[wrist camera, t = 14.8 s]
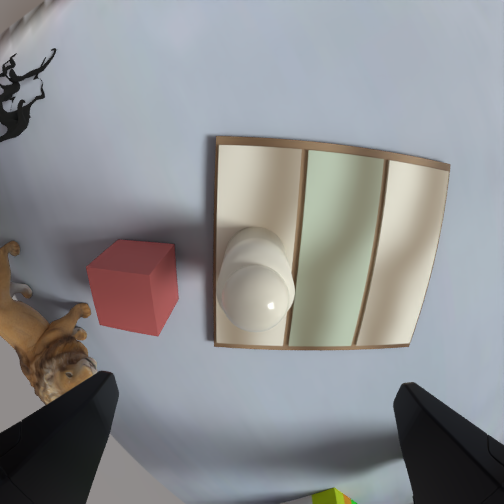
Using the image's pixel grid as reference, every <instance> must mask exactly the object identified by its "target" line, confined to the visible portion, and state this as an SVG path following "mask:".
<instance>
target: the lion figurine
mask: <svg viewBox="0 0 504 504" xmlns="http://www.w3.org/2000/svg"><path fill="white" fill-rule="evenodd" d="M8 253H10V254H11V255H13V256H17V255H19V253H20V247H19V244H18V243H17V242H15V241H11V242H9V243H7V244H5V245H4V246H3V247H2V248H0V336H1V337H2V338H3V339H4V340H6V341H7V342H8V343H9V344H10V345H11V346H12V347H13V348H14V349H15V350H16V352H17V354H18V356H19V359H20V366H21V369H22V372H23V373H24V375H25V376H26V377H27V379H28V380H29V381H30V383H31V386H33V387H34V389H35V394H36V395H37V396H39V398H40V399H41V401H42V402H44V404H45V405H47V404H48V403H50V402H52V401H53V400H55V399H56V398H58V397H60V396H61V395H63V394H64V393H66V392H67V391H69V390H71V389H72V388H74V387H75V386H77V385H78V384H80V383H82V382H83V381H85V380H86V379H88V378H89V377H91V376H93V375H94V374H96V373H97V369H96V367H97V363H96V361H95V360H94V359H93V358H91V357H88V351H87V348H86V347H85V346H84V345H83V344H82V343H81V342H79V341H77V340H85V339H86V337H87V333H86V331H84V330H83V329H82V328H79V327H77V328H74V327H75V325H76V323H77V320H78V319H79V318H80V317H83V318H87V317H88V316H90V315H91V310H90V308H89V306H88V304H86V303H80V304H77V305H75V306H74V307H73V308H72V309H71V310H70V311H69V313H68V314H67V315H65V316H64V317H62V318H60V319H59V320H55V321H53V322H52V323H51V324H50V323H49V322H48V321H47V320H46V319H45V318H44V317H43V316H42V315H41V314H40V313H38V312H37V311H36V310H35V309H33V308H32V307H30V306H29V305H27V304H25V303H23V302H21V301H16V300H13V299H12V297H13V295H14V294H16V293H22V294H23V296H24V297H25V298H28V299H29V298H31V296H32V290H31V289H30V287H29V286H28V285H26V284H19V283H13V282H10V280H11V270H10V265H9V260H8ZM76 339H77V340H76Z"/></svg>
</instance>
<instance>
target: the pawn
mask: <svg viewBox="0 0 504 504" xmlns="http://www.w3.org/2000/svg"><path fill="white" fill-rule="evenodd" d="M216 296H217V300H218V303H219V305H220V307H221V309H222V310H223V311H224V313H225V314H226V316H227V318H228V319H229V320H230V321H231V322H232V323H233V324H234V325H235V326H236V327H238V328H240V329H242V330H245V331H249V332H262V331H266V330H269V329H271V328H273V327H274V326H276V325H277V324H278V323H279V322H280V321H281V320H282V319H283V317H284V316H285V314H286V313H287V311H288V310H289V309H290V307H291V305H292V303H293V300H294V296H295V287H294V282H293V278H292V274H291V270H290V266H289V262H288V259H287V255H286V251H285V247H284V245H283V242H282V241H281V239H280V238H279V237H278V236H277V235H276V234H275V233H274V232H272V231H270V230H268V229H265V228H261V227H250V228H246V229H243V230H241V231H239V232H238V233H237V234H235V235H234V236H233V237H232V238H231V240H230V241H229V243H228V246H227V248H226V252H225V256H224V259H223V263H222V267H221V270H220V274H219V278H218V282H217V286H216Z"/></svg>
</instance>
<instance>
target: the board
mask: <svg viewBox="0 0 504 504" xmlns="http://www.w3.org/2000/svg"><path fill="white" fill-rule="evenodd" d="M449 173H450V164H447V163H442V162H438V161H433V160H429V159H424V158H419V157H414V156H409V155H403V154H398V153H392V152H386V151H380V150H374V149H368V148H361V147H354V146H346V145H338V144H330V143H321V142H311V141H300V140H288V139H274V138H256V137H231V136H216V155H215V187H214V245H213V304H214V347H228V348H245V349H269V350H359V349H382V348H398V347H409V345H410V342H411V339H412V336H413V333H414V330H415V327H416V324H417V321H418V318H419V315H420V312H421V309H422V305H423V302H424V298H425V295H426V291H427V288H428V284H429V280H430V276H431V273H432V268H433V264H434V260H435V256H436V251H437V247H438V242H439V237H440V232H441V227H442V221H443V216H444V210H445V204H446V197H447V190H448V182H449ZM250 227H261V228H265V229H268V230H270V231H272V232H274V233H275V234H276V235H277V236H278V237H279V238H280V239H281V241H282V242H283V245H284V247H285V251H286V255H287V259H288V262H289V266H290V270H291V274H292V278H293V282H294V287H295V296H294V300H293V303H292V305H291V307H290V309H289V310H288V311H287V313H286V314H285V316H284V317H283V319H282V320H281V321H280V322H279V323H278V324H277V325H276V326H274V327H273V328H271V329H269V330H266V331H262V332H249V331H245V330H242V329H240V328H238V327H236V326H235V325H234V324H233V323H232V322H231V321H230V320H229V319H228V318H227V316H226V314H225V313H224V311H223V310H222V309H221V307H220V305H219V303H218V300H217V296H216V286H217V282H218V278H219V274H220V270H221V267H222V263H223V259H224V256H225V252H226V248H227V246H228V243H229V241H230V240H231V238H232V237H233V236H234V235H235V234H237V233H238V232H239V231H241V230H243V229H246V228H250Z"/></svg>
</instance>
